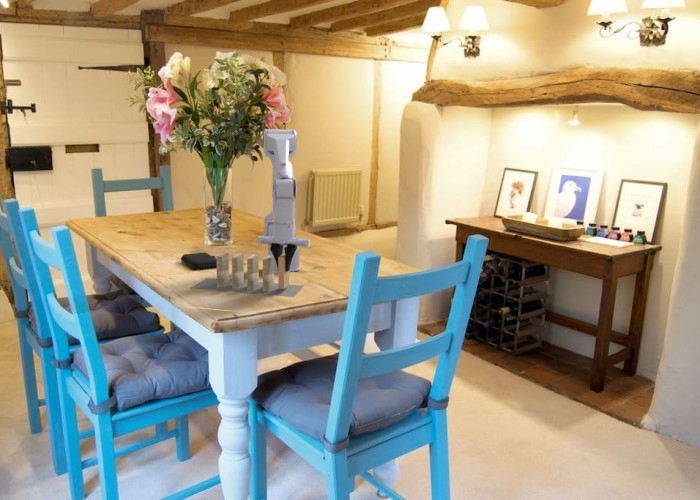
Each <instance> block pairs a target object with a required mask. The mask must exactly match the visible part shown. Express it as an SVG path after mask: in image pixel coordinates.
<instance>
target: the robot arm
mask: <svg viewBox="0 0 700 500" xmlns="http://www.w3.org/2000/svg"><path fill="white" fill-rule="evenodd" d="M297 137H298V135H297V131H296V130H295V129H276V128H275V129H273V128H271V129H269V128H268V129H267V128H265V129H264V130H263V153H264V157H266V158H268V159H270V162H271V164H272V167H271V168H272V169H271V170H272V181H271V197H272V211H271V212H270V213H267V215H266V216H265V217H264V219H263V222H264V223H263V235H259V236H257V244H258V245H267V256H274V275H276V274H277V275H278V257H279V256H281V255H282V254H283V253H285V271H286V272H288V271H289V273H290V272H297V271H301V268H300V249H299V248H300V247H304V248H309V247H311V239H308V238H302V237H297V236H296V235H297V234H296V232H297V231H296V230H297V229H296V219H295V206H296V203H295V201H296V200H297V193H298V192H297V190H298V188H297V185H298V184H297V180H296V177H295V176H294V166H293V163H292V162H291V161H289V159H292V158H294V156H295V154H296V149H297V145H298V144H297V143H298V140H297Z"/></svg>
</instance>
